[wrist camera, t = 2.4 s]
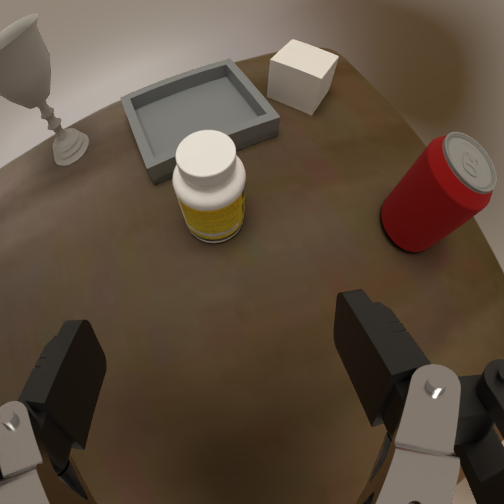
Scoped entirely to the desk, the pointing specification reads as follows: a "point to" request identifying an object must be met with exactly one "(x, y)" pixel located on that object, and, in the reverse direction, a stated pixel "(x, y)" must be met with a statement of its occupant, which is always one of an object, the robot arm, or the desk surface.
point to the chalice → (35, 83)
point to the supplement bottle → (210, 185)
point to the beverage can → (439, 192)
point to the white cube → (301, 76)
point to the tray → (197, 113)
